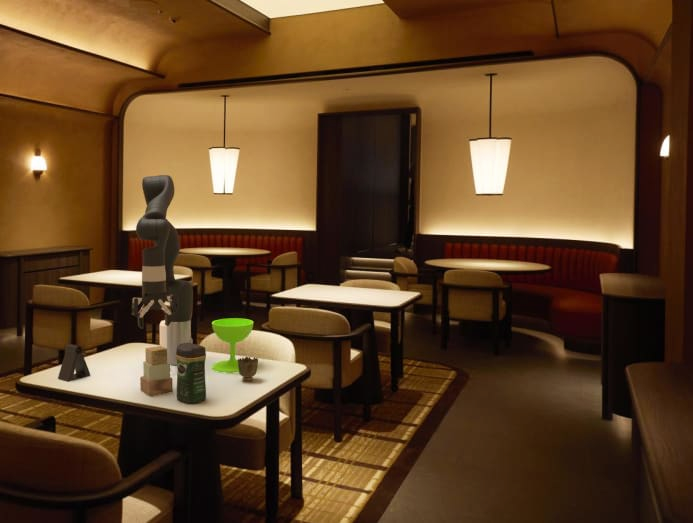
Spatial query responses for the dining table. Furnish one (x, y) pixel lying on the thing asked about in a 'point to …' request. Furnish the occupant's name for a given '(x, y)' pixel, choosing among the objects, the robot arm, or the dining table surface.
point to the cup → (247, 368)
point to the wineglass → (231, 339)
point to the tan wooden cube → (156, 355)
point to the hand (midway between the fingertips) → (154, 326)
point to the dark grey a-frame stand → (73, 364)
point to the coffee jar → (191, 373)
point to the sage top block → (156, 371)
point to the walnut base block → (156, 386)
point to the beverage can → (163, 334)
